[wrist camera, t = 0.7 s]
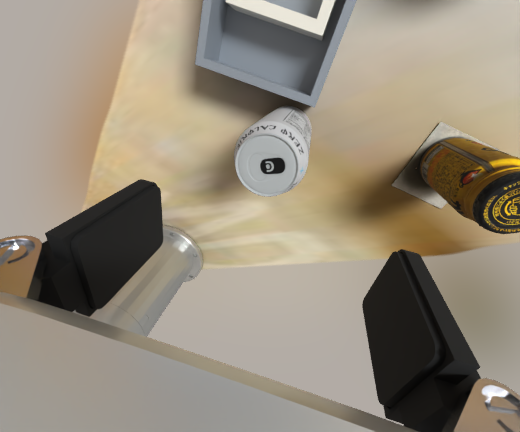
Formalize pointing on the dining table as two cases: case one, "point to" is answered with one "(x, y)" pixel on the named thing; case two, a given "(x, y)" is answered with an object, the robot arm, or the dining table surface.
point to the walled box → (273, 42)
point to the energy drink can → (274, 152)
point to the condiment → (466, 179)
